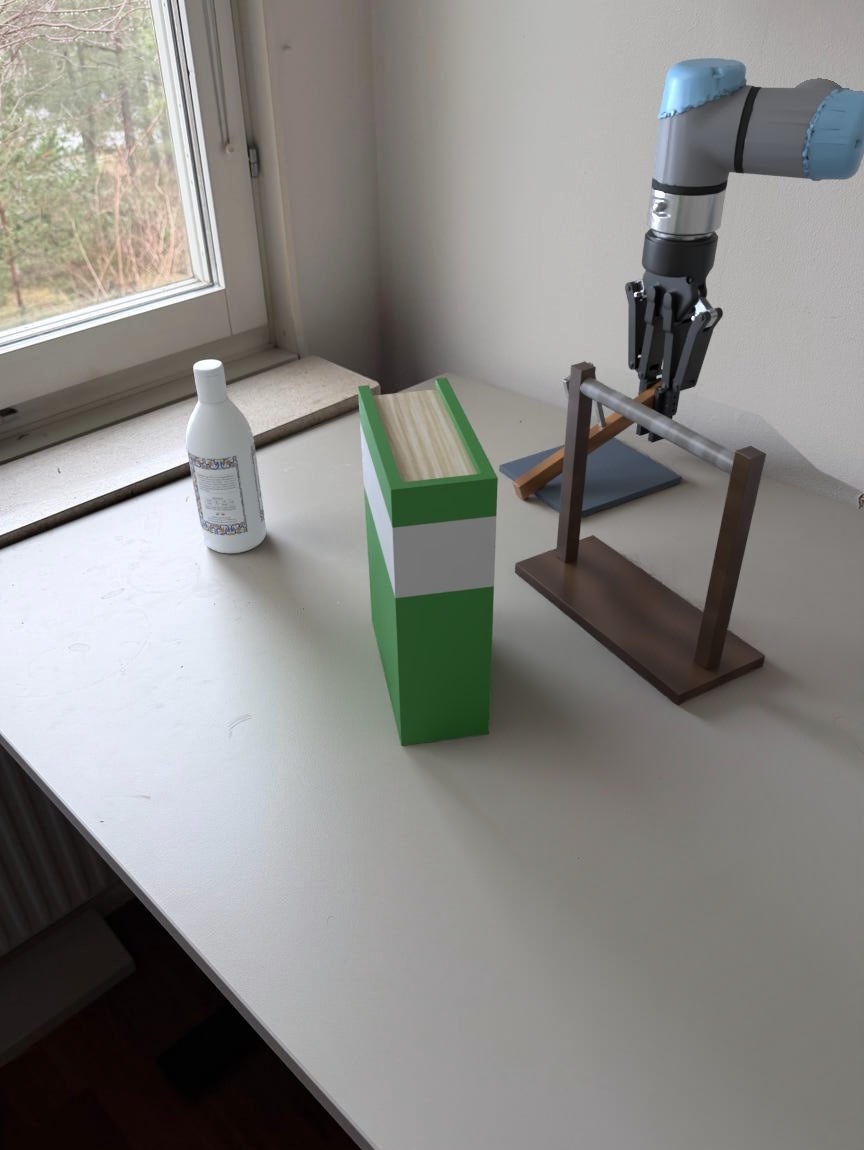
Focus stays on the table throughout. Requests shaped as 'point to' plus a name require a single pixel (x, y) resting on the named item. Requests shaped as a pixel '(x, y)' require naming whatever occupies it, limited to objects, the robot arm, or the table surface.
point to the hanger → (597, 438)
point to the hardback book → (430, 559)
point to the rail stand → (629, 594)
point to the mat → (601, 476)
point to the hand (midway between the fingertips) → (652, 435)
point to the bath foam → (223, 466)
